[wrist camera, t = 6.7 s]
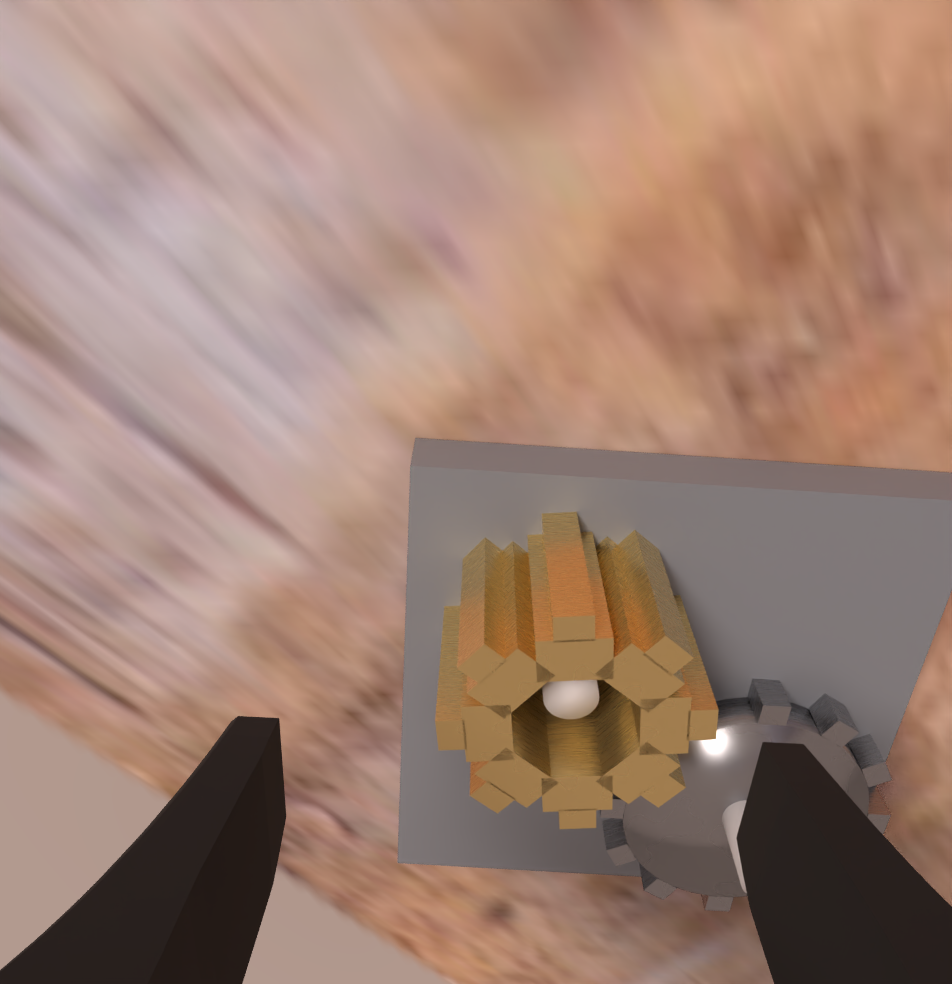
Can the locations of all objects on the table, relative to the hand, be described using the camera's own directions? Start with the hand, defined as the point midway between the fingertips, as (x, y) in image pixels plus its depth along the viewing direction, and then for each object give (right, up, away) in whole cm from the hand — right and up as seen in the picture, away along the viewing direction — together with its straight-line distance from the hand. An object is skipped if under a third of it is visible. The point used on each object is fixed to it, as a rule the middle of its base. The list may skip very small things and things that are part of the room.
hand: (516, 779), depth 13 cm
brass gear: (+1, +1, +8) cm, 8 cm away
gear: (+6, -4, +11) cm, 13 cm away
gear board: (+4, -1, +11) cm, 12 cm away
